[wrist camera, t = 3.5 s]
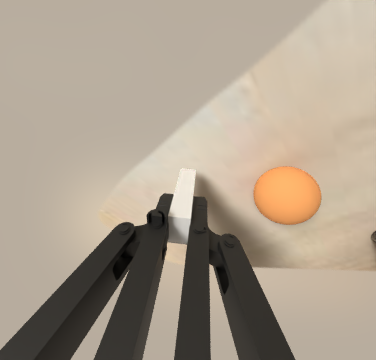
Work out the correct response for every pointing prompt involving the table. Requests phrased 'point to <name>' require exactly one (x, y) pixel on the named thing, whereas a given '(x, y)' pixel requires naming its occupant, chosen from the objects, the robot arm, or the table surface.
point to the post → (374, 236)
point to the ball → (287, 195)
